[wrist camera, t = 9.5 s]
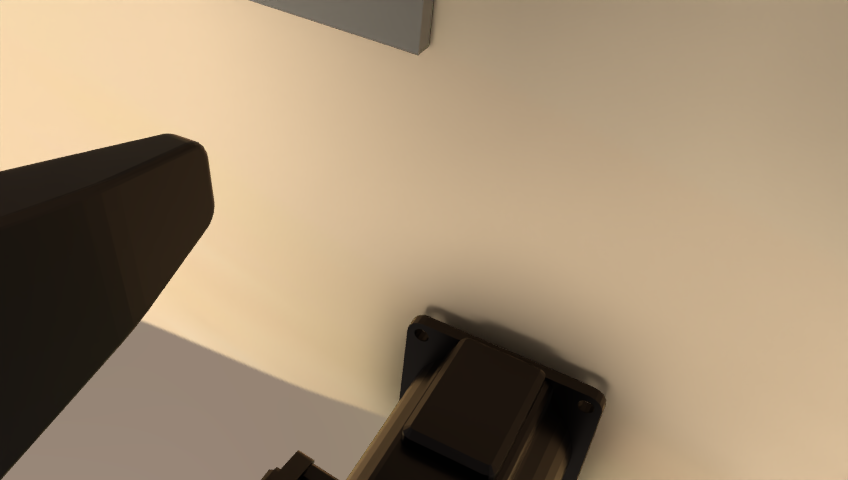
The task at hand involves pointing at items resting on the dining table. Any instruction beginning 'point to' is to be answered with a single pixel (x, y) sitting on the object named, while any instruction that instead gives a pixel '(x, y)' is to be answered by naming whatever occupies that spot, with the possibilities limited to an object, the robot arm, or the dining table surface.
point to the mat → (369, 19)
